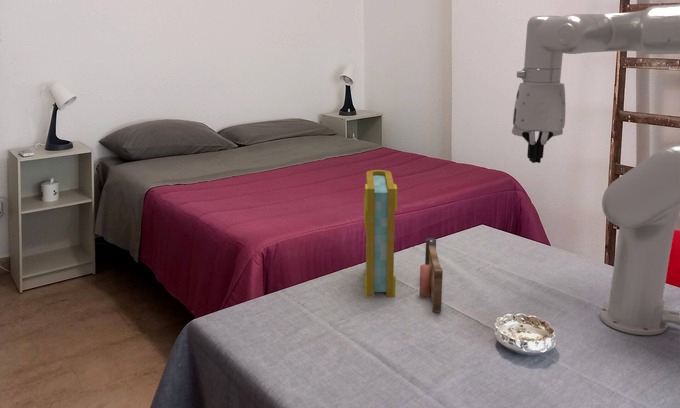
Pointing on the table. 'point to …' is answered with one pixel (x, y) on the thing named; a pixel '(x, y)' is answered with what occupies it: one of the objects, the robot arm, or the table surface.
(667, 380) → the table surface
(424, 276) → the post
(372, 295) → the book
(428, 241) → the gate post
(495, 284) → the table surface
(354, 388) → the table surface
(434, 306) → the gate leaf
